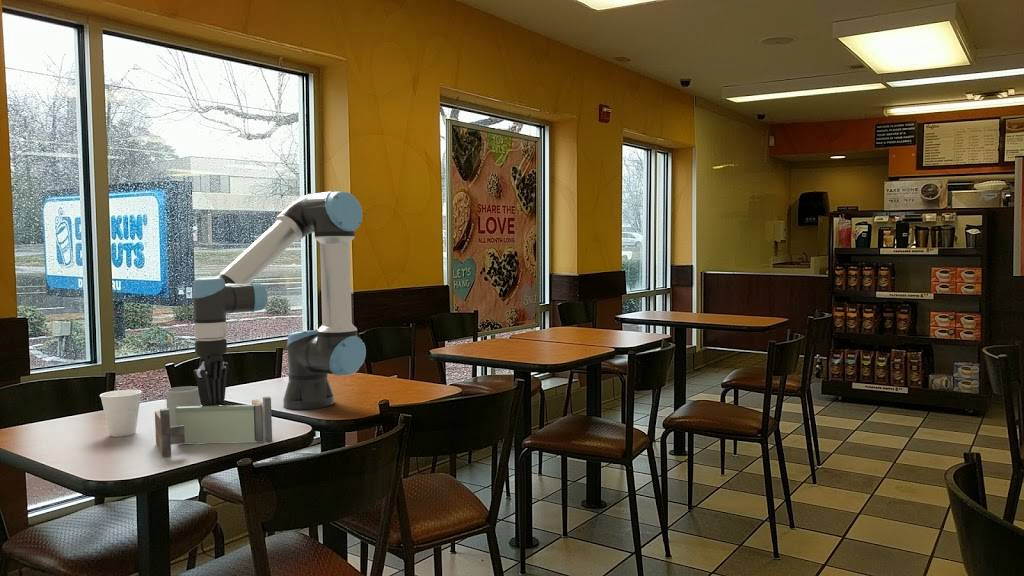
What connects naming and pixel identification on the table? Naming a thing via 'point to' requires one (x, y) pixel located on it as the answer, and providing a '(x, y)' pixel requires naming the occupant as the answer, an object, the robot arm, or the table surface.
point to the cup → (121, 411)
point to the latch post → (167, 432)
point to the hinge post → (266, 417)
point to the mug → (181, 400)
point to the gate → (221, 423)
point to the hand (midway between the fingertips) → (214, 431)
